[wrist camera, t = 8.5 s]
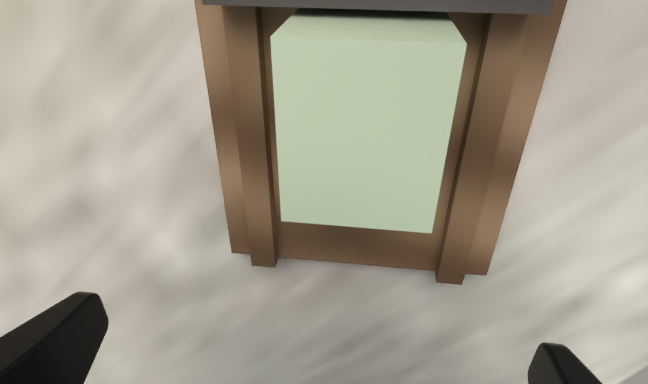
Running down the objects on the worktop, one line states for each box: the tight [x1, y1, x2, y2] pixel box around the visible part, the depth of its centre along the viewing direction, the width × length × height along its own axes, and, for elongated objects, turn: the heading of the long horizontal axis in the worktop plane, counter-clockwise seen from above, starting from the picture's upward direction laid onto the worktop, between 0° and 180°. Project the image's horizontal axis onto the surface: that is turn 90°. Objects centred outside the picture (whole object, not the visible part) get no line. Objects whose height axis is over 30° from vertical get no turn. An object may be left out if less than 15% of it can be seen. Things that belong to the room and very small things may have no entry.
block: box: [270, 8, 467, 233], centre depth 14 cm, size 6×5×5 cm
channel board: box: [195, 0, 567, 285], centre depth 17 cm, size 14×13×4 cm
